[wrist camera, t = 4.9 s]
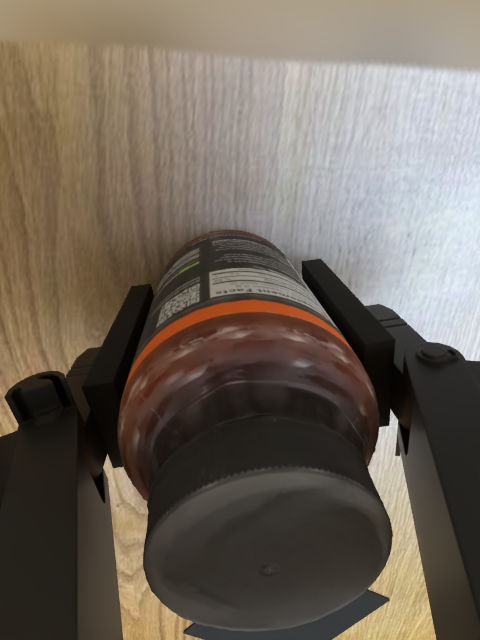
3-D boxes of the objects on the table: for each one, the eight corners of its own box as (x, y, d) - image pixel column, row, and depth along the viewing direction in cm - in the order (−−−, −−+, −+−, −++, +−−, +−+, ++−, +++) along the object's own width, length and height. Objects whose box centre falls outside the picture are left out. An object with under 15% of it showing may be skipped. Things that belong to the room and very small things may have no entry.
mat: (183, 631, 27) (183, 633, 27) (278, 552, 24) (279, 553, 24) (293, 664, 31) (293, 665, 31) (389, 598, 28) (389, 600, 28)
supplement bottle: (256, 372, 18) (321, 684, 8) (137, 325, 16) (21, 640, 6) (324, 264, 16) (539, 499, 5) (194, 198, 14) (161, 356, 4)
